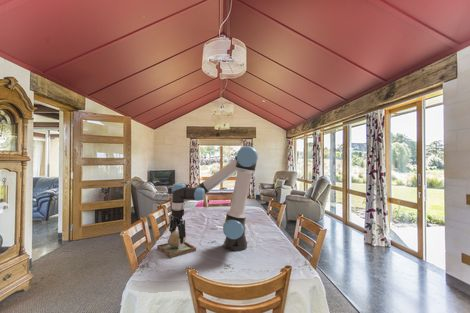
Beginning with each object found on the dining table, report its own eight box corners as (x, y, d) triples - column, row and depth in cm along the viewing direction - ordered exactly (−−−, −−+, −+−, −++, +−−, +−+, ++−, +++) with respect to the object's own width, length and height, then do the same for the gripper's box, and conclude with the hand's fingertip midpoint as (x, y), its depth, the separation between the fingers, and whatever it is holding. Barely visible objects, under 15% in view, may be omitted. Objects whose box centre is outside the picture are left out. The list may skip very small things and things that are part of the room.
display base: (196, 251, 144) (196, 247, 144) (170, 258, 133) (170, 254, 133) (181, 242, 157) (182, 239, 157) (157, 248, 145) (157, 245, 145)
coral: (174, 231, 153) (185, 227, 148) (177, 247, 150) (189, 244, 146) (163, 234, 144) (174, 229, 140) (166, 251, 142) (178, 247, 137)
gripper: (192, 211, 139) (191, 250, 139) (175, 205, 155) (173, 239, 155) (181, 213, 134) (180, 253, 134) (164, 206, 150) (163, 242, 150)
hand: (176, 246), depth 145 cm, fingers closed on coral, 9 cm apart
